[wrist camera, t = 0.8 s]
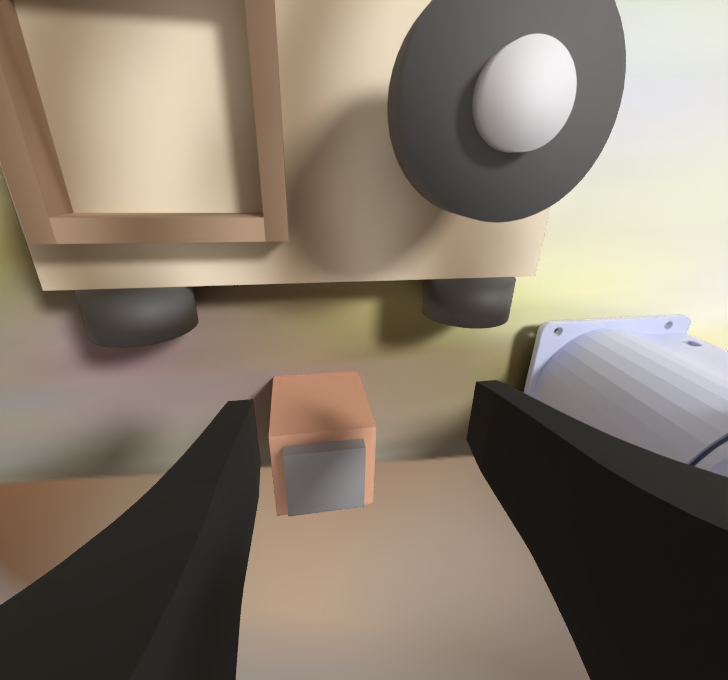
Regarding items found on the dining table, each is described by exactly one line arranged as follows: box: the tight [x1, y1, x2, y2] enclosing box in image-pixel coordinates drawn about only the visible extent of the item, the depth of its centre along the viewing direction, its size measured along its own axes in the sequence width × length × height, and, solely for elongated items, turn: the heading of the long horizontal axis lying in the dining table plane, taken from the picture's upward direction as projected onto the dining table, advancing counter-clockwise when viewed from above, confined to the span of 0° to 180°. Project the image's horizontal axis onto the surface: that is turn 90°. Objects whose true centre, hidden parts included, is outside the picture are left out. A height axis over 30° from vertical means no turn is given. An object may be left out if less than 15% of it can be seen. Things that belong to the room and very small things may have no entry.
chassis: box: [0, 0, 550, 348], centre depth 14 cm, size 20×16×4 cm
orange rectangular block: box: [269, 371, 376, 516], centre depth 19 cm, size 4×4×6 cm
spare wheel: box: [387, 0, 626, 223], centre depth 10 cm, size 6×6×2 cm
